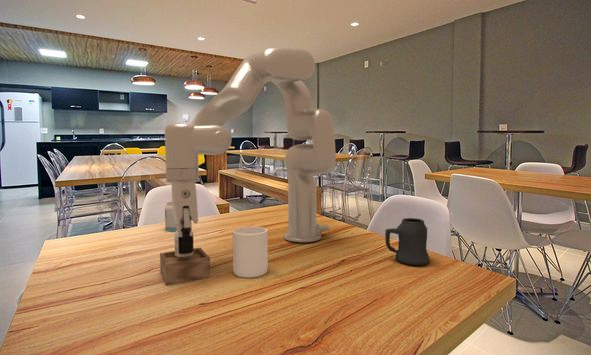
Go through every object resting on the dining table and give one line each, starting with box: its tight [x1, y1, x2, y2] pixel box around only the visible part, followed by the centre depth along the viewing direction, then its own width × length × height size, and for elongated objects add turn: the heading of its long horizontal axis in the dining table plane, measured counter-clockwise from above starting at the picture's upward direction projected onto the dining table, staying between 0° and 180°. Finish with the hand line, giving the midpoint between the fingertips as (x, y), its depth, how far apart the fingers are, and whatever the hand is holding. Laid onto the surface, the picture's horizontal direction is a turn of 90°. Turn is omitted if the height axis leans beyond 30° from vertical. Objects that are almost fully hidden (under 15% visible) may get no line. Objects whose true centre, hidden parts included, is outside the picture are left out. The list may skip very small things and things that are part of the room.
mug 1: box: [232, 226, 269, 279], centre depth 85 cm, size 9×12×11 cm
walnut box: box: [159, 247, 211, 286], centre depth 82 cm, size 10×10×5 cm
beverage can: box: [164, 201, 177, 233], centre depth 123 cm, size 7×7×12 cm
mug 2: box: [384, 217, 430, 266], centre depth 93 cm, size 12×9×11 cm
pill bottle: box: [173, 223, 194, 257], centre depth 81 cm, size 4×4×8 cm
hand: (184, 249), depth 82 cm, fingers closed on pill bottle, 4 cm apart
